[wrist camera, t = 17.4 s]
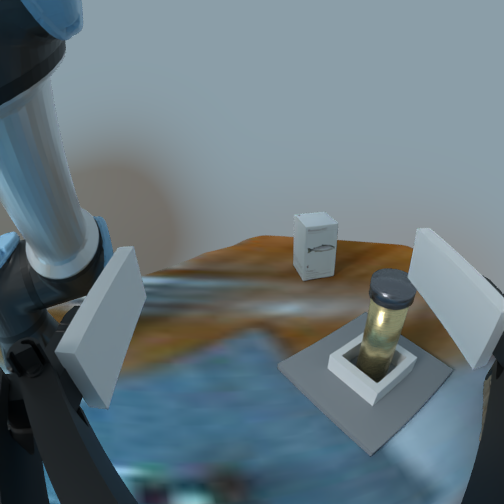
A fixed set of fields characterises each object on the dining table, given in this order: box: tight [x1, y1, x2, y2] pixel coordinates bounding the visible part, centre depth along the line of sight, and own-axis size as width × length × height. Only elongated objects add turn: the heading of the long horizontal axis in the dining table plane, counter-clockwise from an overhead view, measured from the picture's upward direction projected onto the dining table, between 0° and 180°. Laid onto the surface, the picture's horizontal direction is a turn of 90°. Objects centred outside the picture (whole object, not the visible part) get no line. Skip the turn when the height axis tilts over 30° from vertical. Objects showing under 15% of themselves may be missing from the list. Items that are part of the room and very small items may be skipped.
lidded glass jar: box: [355, 269, 417, 383], centre depth 38 cm, size 6×6×16 cm
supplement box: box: [293, 212, 338, 281], centre depth 66 cm, size 7×7×13 cm
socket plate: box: [278, 312, 453, 456], centre depth 41 cm, size 20×20×4 cm
